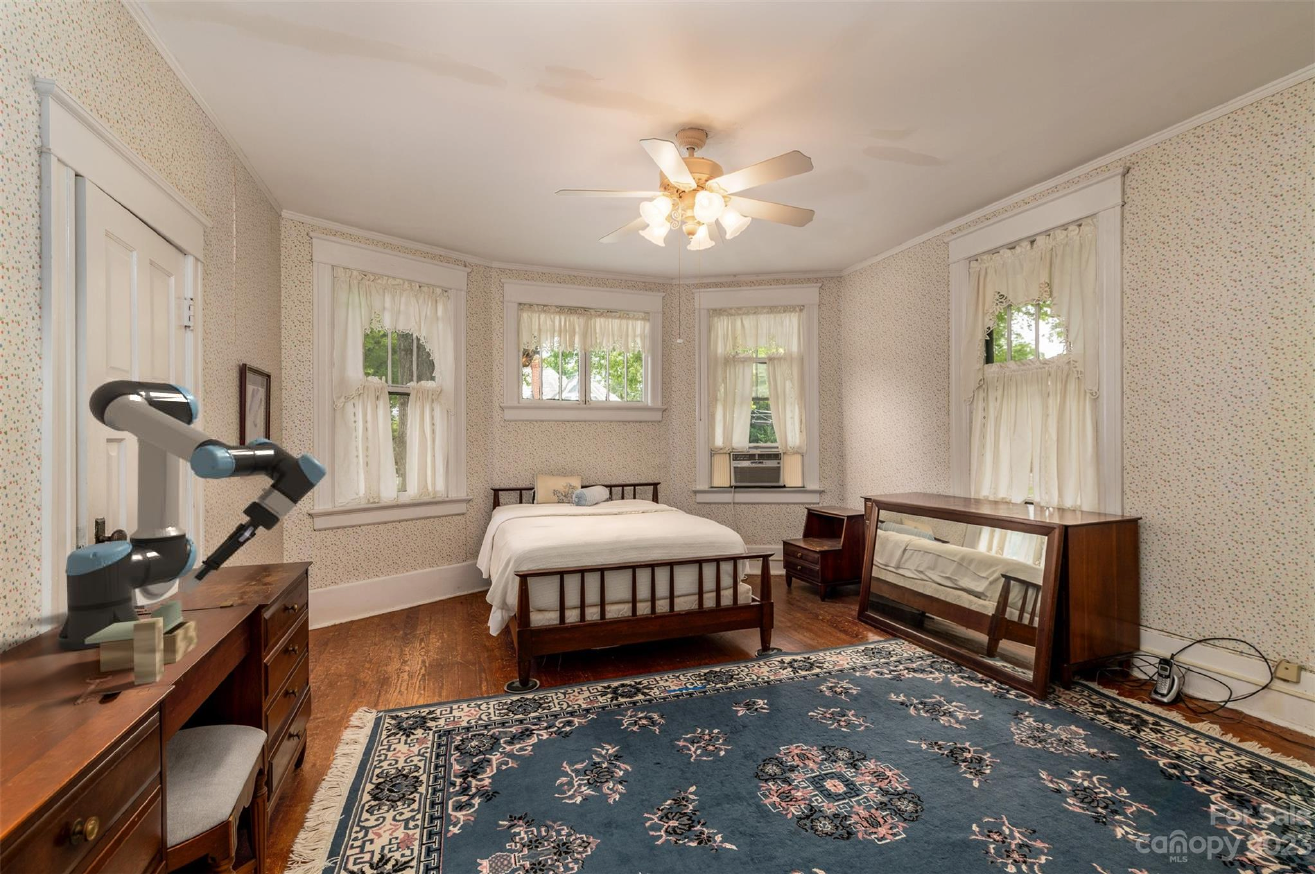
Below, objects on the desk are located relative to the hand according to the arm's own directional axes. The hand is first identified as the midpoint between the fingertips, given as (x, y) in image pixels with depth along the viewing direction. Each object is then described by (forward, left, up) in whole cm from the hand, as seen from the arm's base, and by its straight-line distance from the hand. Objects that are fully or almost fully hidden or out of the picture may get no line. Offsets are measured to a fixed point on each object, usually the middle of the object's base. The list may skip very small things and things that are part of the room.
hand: (184, 590), depth 133 cm
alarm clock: (-55, -27, -15) cm, 63 cm away
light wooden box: (-1, -6, -14) cm, 16 cm away
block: (+15, -1, -14) cm, 21 cm away
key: (+16, -9, -15) cm, 24 cm away
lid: (-1, -9, -8) cm, 12 cm away
